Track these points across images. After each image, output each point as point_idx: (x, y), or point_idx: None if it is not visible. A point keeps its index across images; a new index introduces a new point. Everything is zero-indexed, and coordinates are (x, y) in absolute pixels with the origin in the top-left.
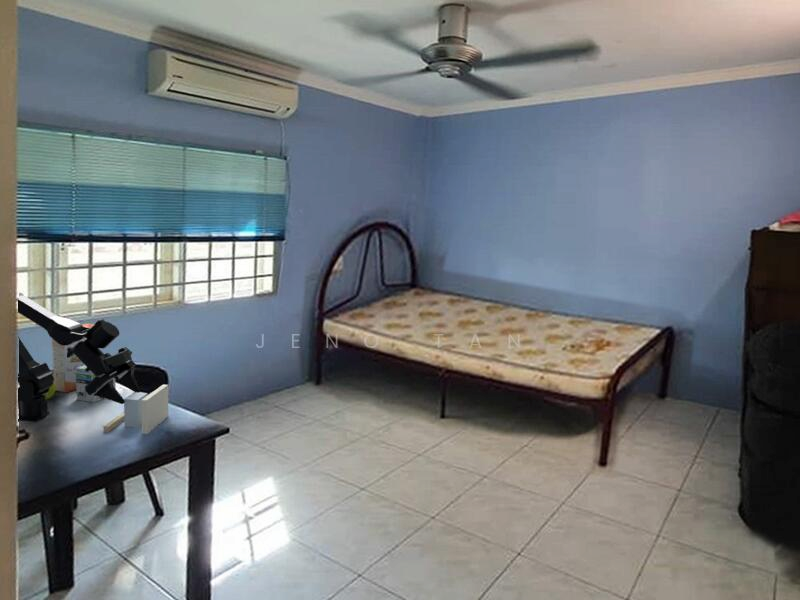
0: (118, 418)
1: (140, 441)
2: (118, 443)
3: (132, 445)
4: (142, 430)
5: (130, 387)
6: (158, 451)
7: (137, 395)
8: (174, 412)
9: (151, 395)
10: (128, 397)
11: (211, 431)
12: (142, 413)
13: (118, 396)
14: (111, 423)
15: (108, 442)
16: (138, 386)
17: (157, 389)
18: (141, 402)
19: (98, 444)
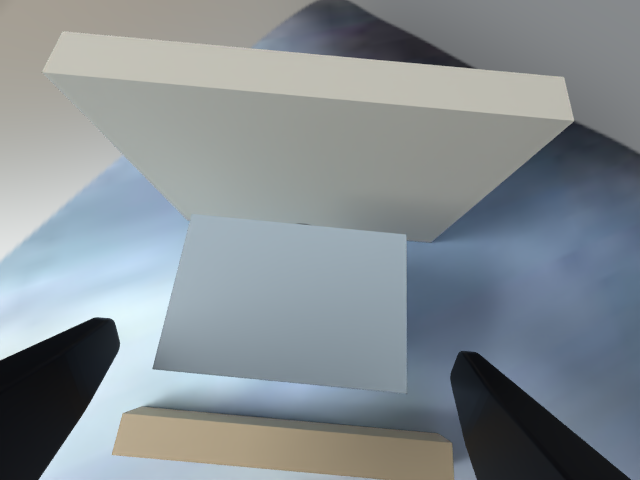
0: (304, 440)
1: (511, 220)
2: (560, 308)
3: (559, 237)
4: (437, 234)
5: (20, 473)
6: (575, 127)
7: (273, 285)
8: (140, 185)
9: (419, 77)
10: (348, 360)
11: (361, 15)
12: (488, 187)
13: (569, 433)
14: (398, 448)
15: (566, 364)
16: (23, 350)
17: (222, 78)
18: (554, 137)
19: (605, 408)
